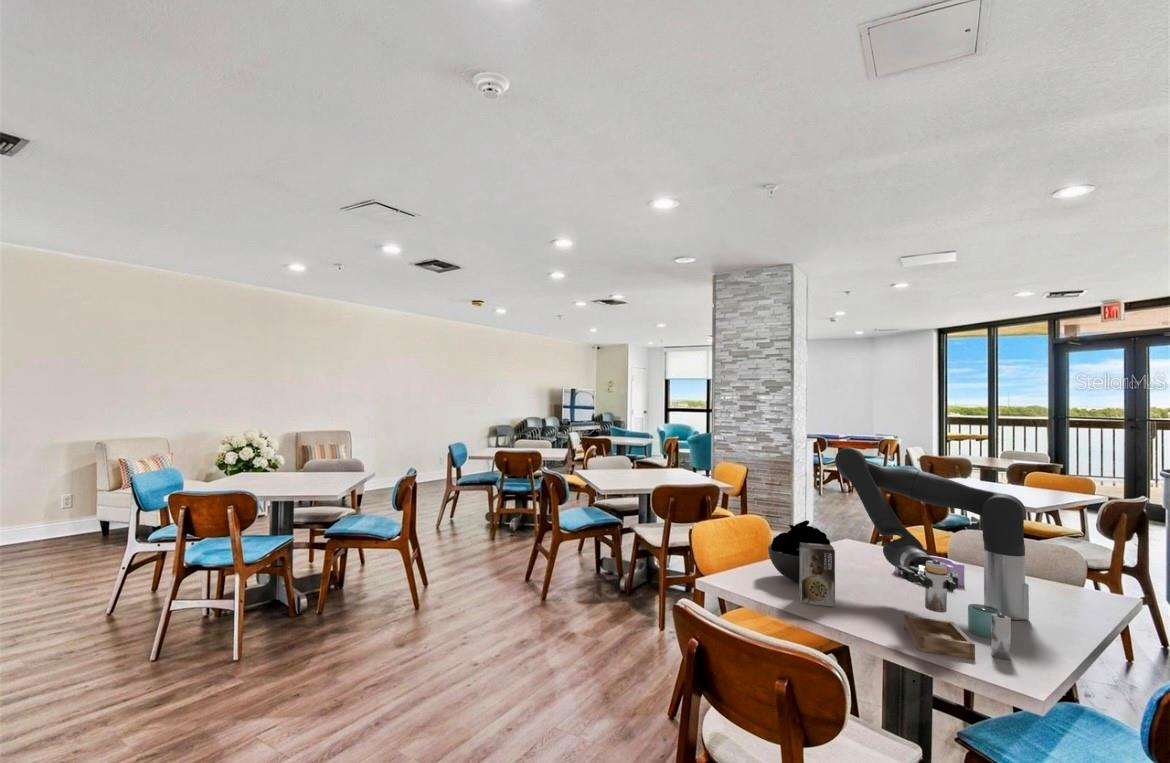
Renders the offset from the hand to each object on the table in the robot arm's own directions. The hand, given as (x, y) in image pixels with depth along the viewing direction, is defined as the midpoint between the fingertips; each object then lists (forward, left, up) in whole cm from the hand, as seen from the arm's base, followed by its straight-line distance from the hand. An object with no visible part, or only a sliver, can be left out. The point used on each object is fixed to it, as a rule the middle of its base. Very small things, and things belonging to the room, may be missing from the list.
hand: (939, 585), depth 130 cm
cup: (-14, -15, -14) cm, 25 cm away
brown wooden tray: (0, -3, -14) cm, 15 cm away
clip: (-14, -63, -15) cm, 66 cm away
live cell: (0, -3, -6) cm, 7 cm away
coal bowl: (+28, -42, -15) cm, 52 cm away
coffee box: (+25, -23, -15) cm, 37 cm away
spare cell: (-12, 0, -14) cm, 19 cm away
